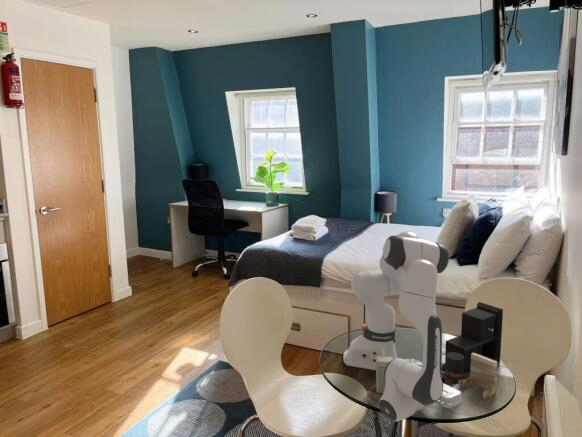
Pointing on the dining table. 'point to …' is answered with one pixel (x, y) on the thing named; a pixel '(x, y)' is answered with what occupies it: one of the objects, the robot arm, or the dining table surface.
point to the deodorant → (454, 369)
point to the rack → (482, 375)
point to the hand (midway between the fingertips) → (444, 379)
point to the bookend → (478, 335)
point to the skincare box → (381, 372)
